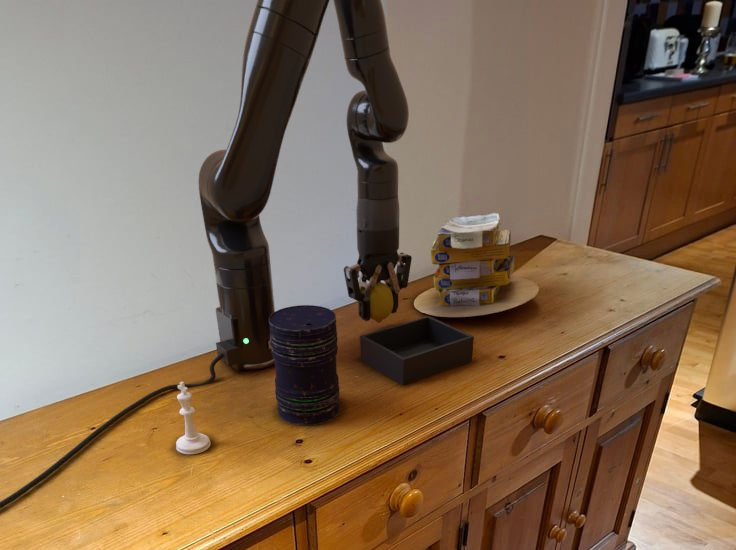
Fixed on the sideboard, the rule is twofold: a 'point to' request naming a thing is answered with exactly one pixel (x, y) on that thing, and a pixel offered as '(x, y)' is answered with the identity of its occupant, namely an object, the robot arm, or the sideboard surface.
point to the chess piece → (190, 427)
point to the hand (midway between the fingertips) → (378, 315)
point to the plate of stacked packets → (473, 270)
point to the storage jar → (305, 364)
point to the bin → (416, 349)
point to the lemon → (380, 302)
